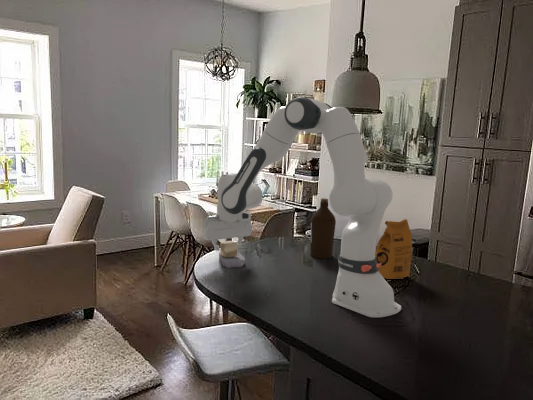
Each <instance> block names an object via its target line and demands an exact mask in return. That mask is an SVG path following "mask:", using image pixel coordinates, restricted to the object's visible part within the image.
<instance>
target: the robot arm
mask: <svg viewBox="0 0 533 400" xmlns="http://www.w3.org/2000/svg"><path fill="white" fill-rule="evenodd" d="M302 131H303V132H305V133H309V134H319V135H321V134H322V136H323V138H324V141H325V144H326V148H327V151H328V153H329V157H330V160H331V163H332V170H333V187H332V189H331V190H330V194H329V198H328V202H329V206H330V208H331V209H332V211H333V212H334V213H336V215H339V216H343V217H349V219H348V222H347V224H346V225H345V226H344V227H343V229H342V232H341V238H340V239H341V241H340V253H339V254H338V259H337V260H338V261H337V262H338V263H337V265H338V273H337V277H336V280H335V281H336V282H335V286H334V290H333V293H332V298H331V303H332V304H334V305H337V306H340V307H343V308H345V309H347V310H350V311H353V312H356V313H357V314H360V315H363V316H366V317H369V318H385V317H389V316H393V315H396V314H398V313H399V312H401V310H402V305H401V304H399V303H397V302H396V301H395V292H394V289H393V287H392V286H391V285H390V284H389V282H388V281H386V280H385V279H384V278H383V276H382V275H381V274H380V272H379V268H378V267H381V266H379V265H381V264H382V263H379V264H378V263H377V259H376V248H377V244H378V241H377V240H378V234H379V230H380V226H381V223H382V220H383V218H384V215H385V212H386V210H387V208H388V206H389V205H390V204H391V202H392V200H393V190H392V187H391V186H390V185H389V184H388V183H387V182H386V181H383V180H382V179H381V180H380V179H377V178H366V175H365V164H366V162H367V160H368V154H367V152H366V149H365V145H364V143H363V142H364V141H363V139H362V137H361V134H360V131H359V128H358V126H357V124H356V122H355V119H354V117H353V115H352V114H351V112H350V111H349V109H348V108H346V107H344V106H334V107H332V106H331V105H329V104H328V103H324V102H323V101H320V100H318V99H315V98H309V97H306V96H299V97H298V96H297V97H294V98H292V99H290V100H289V101H288V102H287V104H286V105H285V106H280V107H278V108H277V109H276V110H275V112H274V113H273V115H271V118H270V119H269V121H268V123H267V125H266V126H265V128H264V130H263V131H262V133H261V135H260V137H259V139H258V141H257V143H256V144H255V146H254V147H253V149H252V150H251V152H250V153H249V154H248V155H247V157H246V159H245V160H244V162H243V164H242V165H241V167H240V169H239V170H238V172H237V173H236V172H235V173H229V174H227V173H226V174H222V175H221V176H219V178H218V183H217V193H216V195H217V200H218V202H217V204H216V205H217V206H216V215H212V216H211V215H209V216H207V217H205V219H203V231H202V232H203V233H202V238H203V239H204V240H205V241H211V243H212V245H213V250H214V251H216V252H217V251H220V245H218V244H217V243H218V241H219V240H224V239H225V240H226V239H233V238H234V239H235V238H237V239H238V240H237V242H236V243H237V244H238V248H241V247H242V246H241V244H242V242H243V240H244V237H250V236H251V235H252V231H253V230H252V229H253V227H252V224H253V223H252V220H251V219H252V218H251V217H252V216H251V215H252V213H249V212H247V211H248V210H251V209H255V208H257V207H259V206H260V205H261V204H262V202H263V198H264V197H263V191H262V189H261V187H260V186H259V185H257V184H254V181H255V179H256V178H257V176H258V175H259V174H260V172H261V171H263V170H264V169H265V168H267V167H268V166H271V165H272V164H275V163H276V162H279V161H280V160H282V159H283V157H285V155H286V154H287V153H288V152H289V150H290V148H291V146H292V144H293V143H294V141H295V139H296V137H297V135H298V134H299V133H300V132H302Z"/></svg>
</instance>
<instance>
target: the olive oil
mask: <svg viewBox="0 0 533 400" xmlns="http://www.w3.org/2000/svg"><path fill="white" fill-rule="evenodd" d="M336 222H337V220H336V216H335V215H334V213H333V212H332V211H331V210H330V209H329V198H320V204H319V207H318V209H316V211H314V213H313V214H312V216H311V218H310V252H309V253H310V256H311V257H312V258H316V259H324V260H325V259H330V258H332V257H333V250H334V242H335V241H334V240H335V232H336Z"/></svg>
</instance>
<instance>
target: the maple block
mask: <svg viewBox="0 0 533 400" xmlns="http://www.w3.org/2000/svg"><path fill="white" fill-rule="evenodd" d="M219 243H220V245H219V246H220V248H219V251H220V252H219V253H220V254H221V255H222V256H224V257H233V256H237V252H238V244H237V242H235V241H233V240H227V241H220V242H219Z"/></svg>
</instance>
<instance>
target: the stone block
mask: <svg viewBox="0 0 533 400" xmlns="http://www.w3.org/2000/svg"><path fill="white" fill-rule="evenodd" d="M218 259H219V263H220V264H221V265H222V267H223V268H225V269H228V268H229V269H230V267H231V268H242V267H243V266H244V265H245V263H246V258H245V257H244V255H242V254H241V253H240V252H238V251H237V256H233V257H224V256H222V255H221V254H220V252H219V254H218Z"/></svg>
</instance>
